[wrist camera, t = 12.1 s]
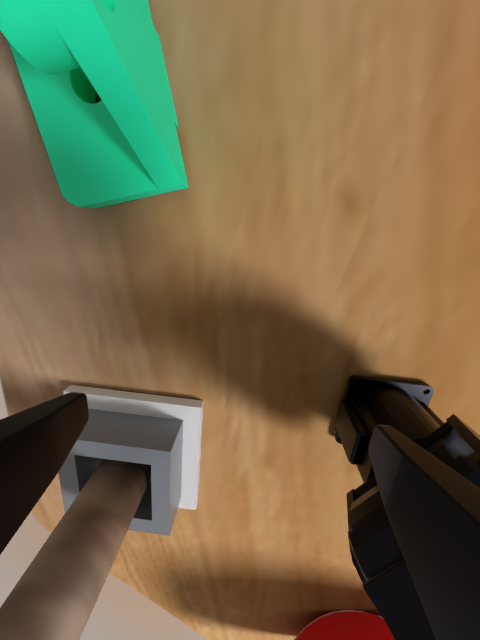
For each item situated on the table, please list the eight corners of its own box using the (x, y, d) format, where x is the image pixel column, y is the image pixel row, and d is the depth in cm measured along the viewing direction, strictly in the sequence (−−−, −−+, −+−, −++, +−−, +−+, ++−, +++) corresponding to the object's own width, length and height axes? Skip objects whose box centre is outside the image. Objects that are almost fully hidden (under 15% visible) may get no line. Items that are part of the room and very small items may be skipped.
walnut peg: (167, 453, 25) (81, 660, 13) (142, 480, 26) (42, 692, 14) (126, 427, 24) (-5, 619, 12) (102, 456, 25) (-37, 656, 13)
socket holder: (203, 400, 24) (191, 437, 19) (197, 500, 27) (186, 549, 23) (70, 384, 24) (30, 417, 20) (83, 485, 28) (51, 530, 24)
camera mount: (21, -2, 16) (-352, -368, 6) (142, -42, 15) (-72, -547, 5) (91, 212, 20) (-76, 193, 10) (192, 190, 19) (119, 144, 9)
